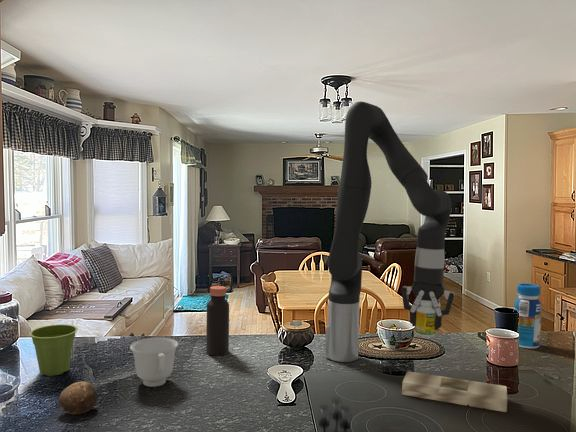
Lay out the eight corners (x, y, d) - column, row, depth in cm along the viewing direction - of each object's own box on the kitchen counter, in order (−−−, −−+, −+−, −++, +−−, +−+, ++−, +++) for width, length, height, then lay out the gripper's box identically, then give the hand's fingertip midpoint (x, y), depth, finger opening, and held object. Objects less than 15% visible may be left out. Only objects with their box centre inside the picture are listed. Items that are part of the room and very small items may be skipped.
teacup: (137, 399, 122) (137, 358, 121) (126, 378, 135) (126, 340, 134) (187, 391, 127) (187, 351, 126) (171, 370, 140) (171, 335, 140)
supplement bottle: (424, 330, 141) (426, 296, 140) (439, 336, 136) (441, 300, 136) (410, 333, 138) (412, 298, 137) (425, 338, 133) (427, 302, 133)
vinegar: (233, 351, 157) (234, 287, 156) (218, 357, 151) (219, 290, 150) (216, 347, 161) (216, 284, 159) (201, 353, 155) (202, 287, 154)
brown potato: (68, 386, 121) (72, 370, 117) (100, 398, 122) (105, 383, 118) (50, 415, 114) (54, 399, 111) (84, 428, 115) (89, 412, 111)
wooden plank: (401, 394, 127) (402, 381, 127) (407, 382, 135) (407, 371, 135) (506, 412, 119) (507, 398, 118) (505, 398, 126) (506, 386, 126)
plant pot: (22, 371, 138) (22, 330, 137) (66, 360, 147) (66, 322, 146) (40, 383, 130) (39, 340, 129) (85, 371, 139) (85, 330, 138)
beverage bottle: (506, 341, 172) (509, 282, 171) (530, 340, 173) (533, 282, 172) (520, 349, 164) (524, 288, 163) (545, 349, 165) (548, 287, 164)
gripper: (399, 264, 135) (395, 327, 136) (456, 269, 130) (452, 335, 131) (404, 260, 142) (400, 320, 143) (458, 265, 136) (454, 327, 138)
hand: (425, 327), depth 137 cm, fingers closed on supplement bottle, 5 cm apart
